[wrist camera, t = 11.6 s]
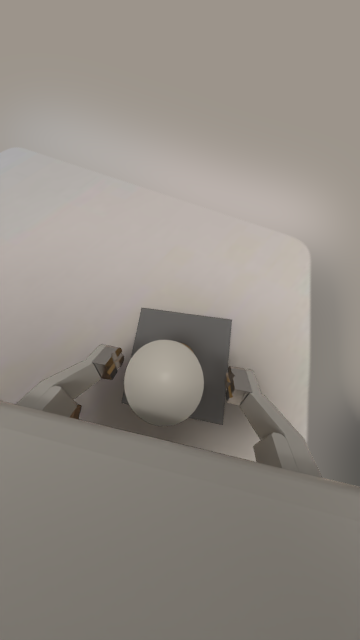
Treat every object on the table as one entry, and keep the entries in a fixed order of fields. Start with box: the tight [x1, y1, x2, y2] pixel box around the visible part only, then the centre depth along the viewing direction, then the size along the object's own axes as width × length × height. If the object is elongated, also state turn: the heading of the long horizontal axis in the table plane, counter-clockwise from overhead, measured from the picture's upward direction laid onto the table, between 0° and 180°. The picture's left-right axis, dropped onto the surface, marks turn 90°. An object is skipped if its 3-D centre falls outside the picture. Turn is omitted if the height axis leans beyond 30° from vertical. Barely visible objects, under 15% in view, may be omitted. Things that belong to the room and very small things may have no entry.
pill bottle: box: [124, 340, 204, 426], centre depth 11 cm, size 4×4×8 cm
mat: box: [122, 308, 232, 425], centre depth 15 cm, size 11×11×1 cm
